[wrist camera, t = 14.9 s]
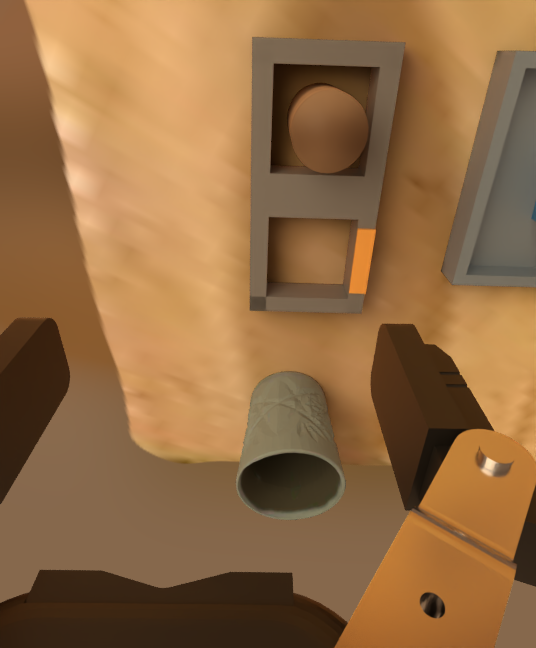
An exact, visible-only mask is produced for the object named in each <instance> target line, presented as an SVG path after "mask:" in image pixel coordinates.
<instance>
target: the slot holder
mask: <svg viewBox="0 0 536 648" xmlns="http://www.w3.org/2000/svg"><path fill="white" fill-rule="evenodd" d="M404 49H405V42H377V41H349V40H320V39H292V38H264V37H252V131H251V235H250V311H286V312H322V313H358V314H362V308H363V302H364V295H365V294H366V288H367V282H368V276H369V270H370V264H371V258H372V252H373V246H374V239H375V233H376V229H375V228H376V221H377V215H378V209H379V203H380V197H381V191H382V185H383V178H384V172H385V166H386V160H387V154H388V148H389V141H390V135H391V129H392V123H393V117H394V111H395V104H396V98H397V92H398V86H399V80H400V74H401V68H402V61H403V55H404ZM274 63H278V64H307V65H336V66H364V67H372V68H371V76H370V83H369V91H368V99H367V106H366V117H367V121H368V137H367V141H366V145H365V147H364V149H363V151H362V153H361V154H360V159H359V167H358V168H345V169H343V170H341V171H338V172H335V173H320V172H316V171H313V170H311V169H309V168H308V167H306V166H276V165H270V161H271V129H272V97H273V66H274ZM269 217H287V218H320V219H352V220H351V228H350V235H349V243H348V250H347V258H346V266H345V273H344V281H343V285H342V284H307V283H272V282H267V256H268V224H269Z"/></svg>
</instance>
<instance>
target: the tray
mask: <svg viewBox="0 0 536 648" xmlns="http://www.w3.org/2000/svg"><path fill="white" fill-rule="evenodd" d="M535 202H536V51H497V55H496V59H495V63H494V66H493V70H492V74H491V78H490V82H489V86H488V90H487V94H486V98H485V102H484V106H483V109H482V113H481V117H480V121H479V125H478V129H477V133H476V137H475V141H474V145H473V148H472V152H471V156H470V160H469V164H468V168H467V172H466V176H465V180H464V184H463V187H462V191H461V195H460V199H459V203H458V207H457V211H456V215H455V219H454V223H453V227H452V230H451V234H450V238H449V242H448V246H447V250H446V254H445V258H444V262H443V266H442V269H441V271H442V273H443V274H444V275H445V276H446V278H447V279H448V280H449V282H450V283H451V284H452V285H475V286H510V287H536V221H534V220H533V219H531V218H532V214H533V210H534V206H535Z"/></svg>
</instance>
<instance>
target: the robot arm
mask: <svg viewBox="0 0 536 648" xmlns="http://www.w3.org/2000/svg"><path fill="white" fill-rule="evenodd" d="M69 381H70V371H69V366H68V363H67V359H66V355H65V352H64V348H63V345H62V341H61V337H60V334H59V330H58V327H57V324H56V322H55V321H54V320H53V319H51V318H17V319H16V320H14V321H13V323H12V324H11V325H10V326H9V327H8V328H7V329H6V330H5V331H4V332H3V333H2V334H1V335H0V504H1V503H2V501H3V500H4V498H5V496H6V495H7V493H8V491H9V489H10V488H11V486H12V484H13V483H14V481H15V479H16V478H17V476H18V474H19V473H20V471H21V469H22V467H23V466H24V464H25V462H26V461H27V459H28V457H29V456H30V454H31V452H32V450H33V449H34V447H35V445H36V444H37V442H38V440H39V438H40V437H41V435H42V434H43V432H44V430H45V429H46V427H47V425H48V423H49V422H50V420H51V418H52V416H53V415H54V413H55V412H56V410H57V408H58V407H59V405H60V403H61V401H62V400H63V398H64V396H65V395H66V393H67V390H68V387H69ZM371 395H372V399H373V403H374V406H375V410H376V413H377V416H378V420H379V423H380V427H381V430H382V433H383V437H384V440H385V443H386V447H387V450H388V454H389V457H390V460H391V464H392V467H393V471H394V474H395V477H396V481H397V484H398V487H399V491H400V494H401V498H402V501H403V504H404V507H405V510H411V511H410V513H409V514H408V516H407V518H406V520H405V521H404V523H403V525H402V527H401V529H400V530H399V532H398V534H397V536H396V538H395V539H394V541H393V543H392V545H391V547H390V549H389V550H388V552H387V554H386V556H385V557H384V559H383V561H382V563H381V565H380V566H379V568H378V570H377V572H376V574H375V575H374V577H373V579H372V581H371V583H370V584H369V586H368V588H367V590H366V592H365V593H364V595H363V597H362V599H361V601H360V603H359V604H358V606H357V608H356V609H355V611H354V613H353V615H352V617H351V619H350V620H349V622H348V623H347V621H345V620H344V619H343V618H341V617H340V616H339V615H337V614H336V613H335V612H334V611H332V610H330V609H329V608H327V607H326V606H324V605H322V604H321V603H319V602H316V601H314V600H312V599H310V598H307V597H305V596H302V595H299V594H296V593H293V578H292V573H265V572H263V573H262V572H229V573H225V574H221V575H217V576H214V577H210V578H205V579H201V580H197V581H194V582H189V583H186V584H181V585H177V586H174V587H169V588H158V587H154V586H150V585H147V584H144V583H140V582H137V581H134V580H131V579H128V578H124V577H121V576H118V575H114V574H111V573H108V572H105V571H86V570H84V571H83V570H82V571H81V570H40V571H39V573H38V575H37V577H36V580H35V582H34V584H33V586H32V589H31V591H30V592H29V593H25V594H22V595H19V596H17V597H14V598H11V599H9V600H6V601H4V602H2V603H0V648H494V647H495V644H496V640H497V637H498V633H499V630H500V626H501V623H502V619H503V616H504V612H505V609H506V605H507V602H508V598H509V595H510V591H511V588H512V584H513V581H514V580H517V581H520V582H523V583H526V584H530V585H533V586H536V461H535V460H534V458H533V456H532V455H531V454H530V453H529V451H528V450H526V449H525V448H524V447H523V446H522V445H521V444H519V443H518V442H517V441H515V440H513V439H512V438H510V437H508V436H506V435H504V434H501V433H498V432H495V431H494V429H493V428H492V426H491V424H490V423H489V421H488V419H487V417H486V416H485V414H484V412H483V411H482V409H481V407H480V406H479V404H478V402H477V401H476V399H475V397H474V395H473V394H472V392H471V390H470V389H469V388H467V384H466V382H465V380H464V379H463V377H462V375H460V372H459V370H458V368H457V367H456V365H455V363H454V362H453V360H452V358H451V357H450V356H449V355H447V354H446V353H445V352H444V351H442V350H441V349H440V348H439V347H437V346H436V345H429V344H424V342H423V341H422V339H421V337H420V335H419V333H418V331H417V329H416V327H415V326H414V325H413V324H382V325H381V326H380V328H379V332H378V338H377V343H376V349H375V355H374V361H373V366H372V372H371Z"/></svg>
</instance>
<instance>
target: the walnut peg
mask: <svg viewBox="0 0 536 648" xmlns="http://www.w3.org/2000/svg"><path fill="white" fill-rule="evenodd" d="M287 124H288V129H289V133H290V137H291V141H292V145H293V149H294V151H295V153H296V155H297V157H298V158H299V160H300V161H301V162H302V163H303V164H304V165H305V166H306V167H308V168H309V169H311V170H313V171H316V172H320V173H335V172H338V171H341V170H343V169H345V168H347V167H349V166H350V165H351V164H352V163H354V162H355V161H356V160H357V158H358V157H359V156H360V154H361V153H362V151H363V149H364V147H365V145H366V141H367V137H368V121H367V117H366V114H365V111H364V109H363V108H362V106H361V104H360V103H359V102H358V101H357V100H356V99H355V98H354V97H352V96H351V95H349V94H347V93H345V92H343V91H341V90H340V89H338V88H336V87H334V86H332V85H329V84H326V83H315V84H311V85H308V86H306V87H304V88H303V89H301V90H300V91H299V92H298V93H297V94H296V95H295V97H294V98H293V100H292V101H291V103H290V106H289V109H288V114H287Z"/></svg>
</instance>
